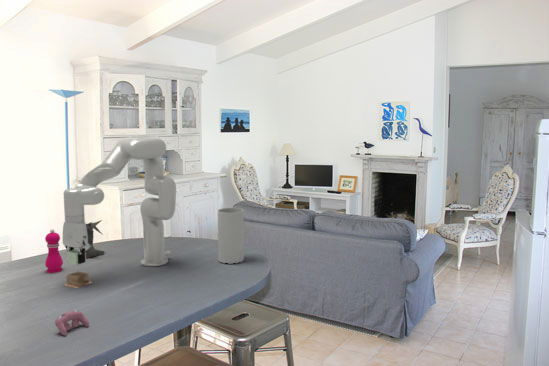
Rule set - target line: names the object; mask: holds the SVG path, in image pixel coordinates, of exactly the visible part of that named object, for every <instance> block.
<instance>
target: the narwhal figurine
mask: <svg viewBox="0 0 549 366" xmlns="http://www.w3.org/2000/svg"><path fill="white" fill-rule="evenodd" d="M102 221H103V219H101V220H98V221H95V222H92V221H91V222H88V223H86V228H87V235H88V244H89V245H90V248H89V249H87V251H86V259H88V258H93V257H98V256H102V255H105V251H104V250H101V249H98V248H97V249H96V248H95V246H94V237H95V236H94V230H95V231H96V232H98V233H100V234H101V235H102V236H104V234H103V233H102V232H101V231H100V229H99V228H98V227H97V225H99V223H100V222H102ZM81 250H82V248H81Z"/></svg>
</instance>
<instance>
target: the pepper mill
mask: <svg viewBox="0 0 549 366" xmlns="http://www.w3.org/2000/svg"><path fill="white" fill-rule="evenodd" d="M44 240H45V242H46V243H47V244H46V247H47V252H48V254H47V256H46V259H45V263H44V264H45V265H44V266H45V267H46V268H47V269H46V273H48V274H56V273H59V272H62V271H63V268H62V266H63V265H64V261H63V258H62V256H61V254H60V252H59V251H60V250H59V247H60V240H61V236H60V234H59V233H57V232H55V229H50V231H49V233H47V234H46V235H45V238H44Z"/></svg>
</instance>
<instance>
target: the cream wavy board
mask: <svg viewBox="0 0 549 366" xmlns="http://www.w3.org/2000/svg"><path fill="white" fill-rule="evenodd" d="M92 283H93V281H89V283H86V284H84V285H81V286H78V287H75V286H71V285H67V283H64V284H63V286H66V287H70V288H74V289H79V288H81V287H84V286H87V285H89V284H92Z"/></svg>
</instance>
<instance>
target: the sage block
mask: <svg viewBox="0 0 549 366" xmlns="http://www.w3.org/2000/svg"><path fill="white" fill-rule="evenodd" d="M78 254H79V252H78V248H74V250H71V251H67V250H66V257H67V264H68V265H73V266H78V265H79V264H78ZM86 262H87V257H86V253H85V263H86Z"/></svg>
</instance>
